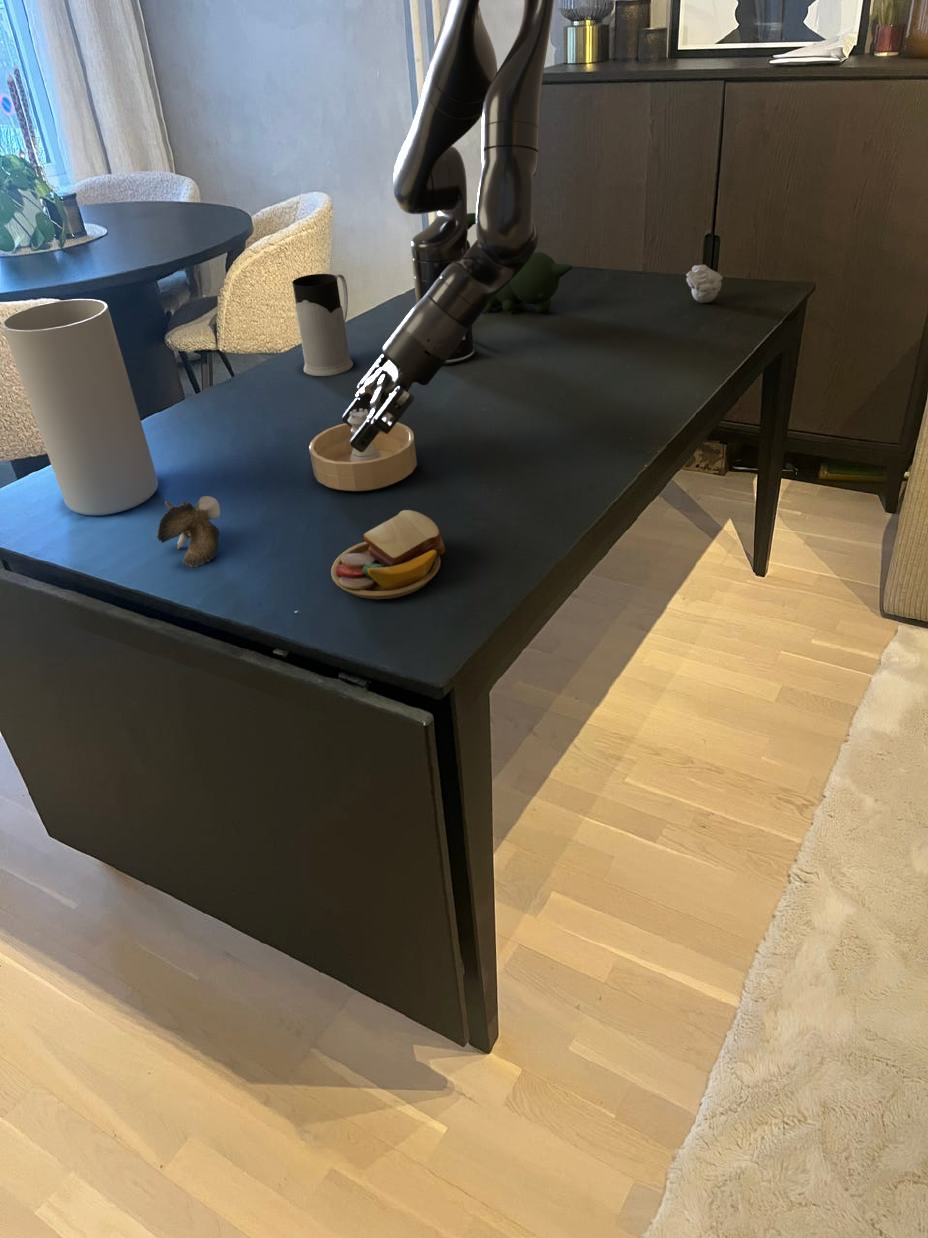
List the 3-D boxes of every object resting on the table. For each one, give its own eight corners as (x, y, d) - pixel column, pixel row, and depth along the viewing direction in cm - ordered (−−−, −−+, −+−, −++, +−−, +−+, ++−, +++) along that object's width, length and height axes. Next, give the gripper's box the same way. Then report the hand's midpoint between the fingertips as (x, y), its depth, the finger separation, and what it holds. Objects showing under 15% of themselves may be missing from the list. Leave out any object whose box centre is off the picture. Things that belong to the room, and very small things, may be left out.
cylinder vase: (108, 525, 123) (45, 335, 108) (47, 506, 129) (-21, 324, 114) (178, 485, 131) (128, 304, 117) (118, 469, 137) (63, 295, 123)
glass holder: (294, 373, 164) (278, 286, 156) (333, 346, 175) (320, 263, 166) (338, 377, 161) (324, 288, 153) (375, 349, 172) (364, 264, 163)
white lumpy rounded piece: (680, 299, 182) (682, 262, 179) (715, 296, 183) (718, 258, 179) (689, 309, 178) (692, 271, 174) (726, 305, 178) (729, 267, 174)
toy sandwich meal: (316, 566, 110) (309, 531, 108) (419, 532, 115) (415, 498, 112) (358, 617, 101) (351, 579, 98) (468, 578, 106) (465, 541, 103)
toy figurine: (450, 321, 187) (567, 319, 176) (434, 220, 177) (556, 211, 166) (471, 306, 194) (585, 303, 183) (456, 209, 184) (576, 199, 173)
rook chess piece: (387, 460, 131) (380, 406, 127) (375, 475, 128) (367, 419, 123) (358, 458, 133) (350, 404, 128) (345, 472, 129) (336, 417, 125)
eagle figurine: (154, 529, 118) (145, 553, 110) (174, 479, 116) (166, 498, 108) (212, 552, 121) (208, 576, 113) (233, 503, 119) (230, 524, 111)
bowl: (317, 454, 136) (312, 425, 134) (415, 444, 137) (412, 415, 134) (312, 499, 125) (306, 468, 122) (418, 488, 125) (415, 457, 122)
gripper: (394, 306, 126) (322, 401, 131) (413, 339, 115) (334, 441, 120) (436, 339, 130) (365, 430, 135) (459, 374, 119) (381, 472, 123)
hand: (351, 435), depth 127 cm, fingers open, 8 cm apart
